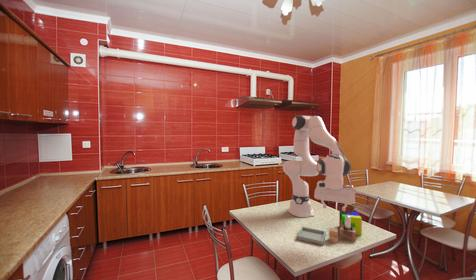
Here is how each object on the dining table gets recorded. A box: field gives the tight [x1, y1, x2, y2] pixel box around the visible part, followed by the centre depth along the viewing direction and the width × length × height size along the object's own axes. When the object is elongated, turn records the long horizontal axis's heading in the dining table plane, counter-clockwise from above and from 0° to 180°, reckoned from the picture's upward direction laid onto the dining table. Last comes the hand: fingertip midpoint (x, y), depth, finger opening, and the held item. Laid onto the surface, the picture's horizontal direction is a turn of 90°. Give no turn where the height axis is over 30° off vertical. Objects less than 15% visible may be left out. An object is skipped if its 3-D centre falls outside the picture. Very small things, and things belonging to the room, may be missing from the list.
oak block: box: [328, 227, 339, 244], centre depth 115 cm, size 4×4×6 cm
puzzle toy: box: [338, 210, 363, 236], centre depth 127 cm, size 10×10×10 cm
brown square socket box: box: [339, 225, 357, 242], centre depth 118 cm, size 8×8×5 cm
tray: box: [296, 226, 327, 246], centre depth 118 cm, size 13×13×2 cm
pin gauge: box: [345, 215, 351, 230], centre depth 118 cm, size 3×3×12 cm
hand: (333, 209), depth 114 cm, fingers open, 8 cm apart
